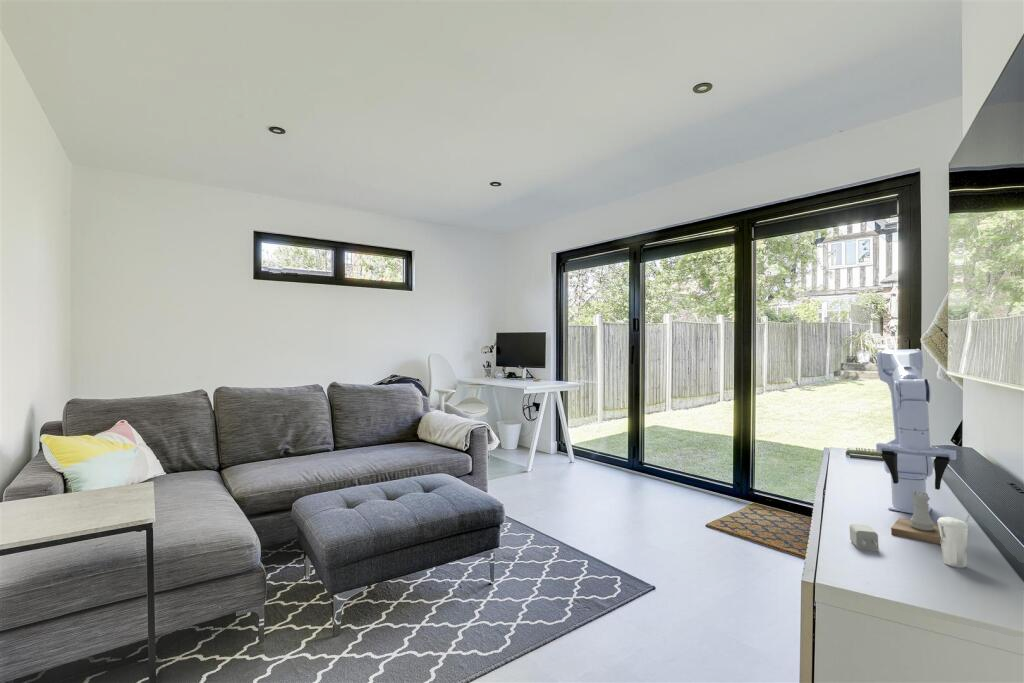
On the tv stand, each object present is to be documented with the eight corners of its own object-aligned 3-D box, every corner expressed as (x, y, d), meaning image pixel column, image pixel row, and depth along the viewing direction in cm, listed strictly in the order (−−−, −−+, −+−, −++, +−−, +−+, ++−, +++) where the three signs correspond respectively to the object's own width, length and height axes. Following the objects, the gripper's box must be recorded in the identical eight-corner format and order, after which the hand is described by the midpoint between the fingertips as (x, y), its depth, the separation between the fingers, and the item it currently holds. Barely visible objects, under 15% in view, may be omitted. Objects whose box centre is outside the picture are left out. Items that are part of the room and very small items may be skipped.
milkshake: (981, 570, 91) (978, 518, 92) (949, 568, 92) (946, 516, 93) (964, 560, 96) (961, 510, 96) (933, 559, 97) (931, 509, 97)
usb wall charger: (871, 543, 105) (870, 525, 105) (883, 556, 99) (882, 536, 99) (850, 541, 107) (849, 523, 107) (860, 553, 100) (859, 534, 100)
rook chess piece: (904, 525, 112) (902, 491, 112) (920, 524, 112) (919, 490, 113) (923, 532, 107) (921, 496, 107) (940, 530, 108) (938, 495, 108)
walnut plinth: (899, 523, 117) (899, 517, 117) (954, 534, 110) (954, 527, 110) (891, 534, 110) (891, 527, 110) (949, 546, 103) (949, 539, 103)
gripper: (872, 427, 117) (875, 483, 116) (952, 434, 106) (955, 495, 106) (878, 424, 122) (881, 477, 121) (955, 430, 111) (958, 488, 110)
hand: (916, 485), depth 114 cm, fingers open, 7 cm apart
